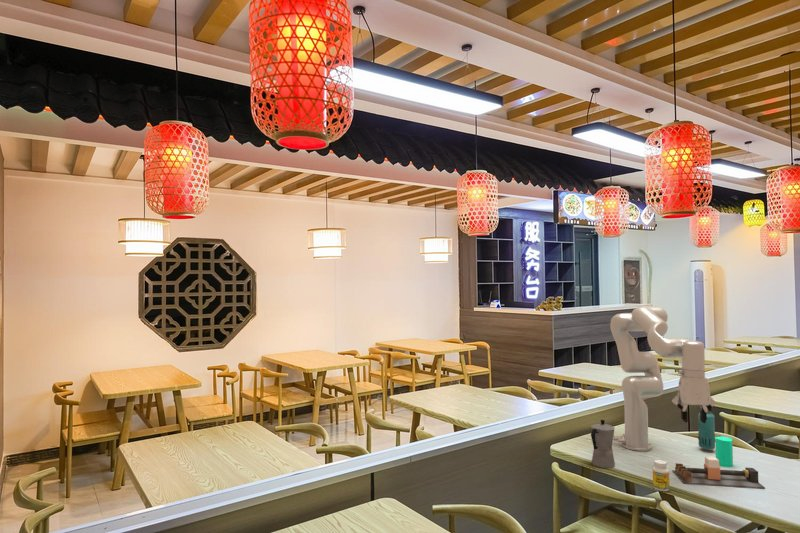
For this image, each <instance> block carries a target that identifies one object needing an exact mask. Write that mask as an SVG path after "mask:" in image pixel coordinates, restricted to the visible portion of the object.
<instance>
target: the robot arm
mask: <svg viewBox="0 0 800 533" xmlns="http://www.w3.org/2000/svg"><path fill="white" fill-rule="evenodd" d="M668 317H669V316H668V313H667V311H666V310H665V309H664V308H663V307H662V306H657V305H655V306H652V305H651V306H650V305H649V306H638V307H636V308H634V309H633V310H632V312H623V313H622V312H621V313H616V314H615V315H614V316H612V317H611V319H610V324H609V326H610V331H611V334H612V337H613V339H614V341H615V344H616V347H617V352H618V357H619V363H620V365H621V369H622V371H624V372H625V373H627V374H640V373H641V374H644V375H629V376H626V377H624V378H623V380H622V381H621V388H622V389H621V390H622V394H623V402H624V403H623V404H624V405H623V406H624V433H622V435H621V436H618V435H614V436H613V441H616V442H618V443H621V444H620V445H621V446H622V447H623V448H625V449H628V450H632V451H638V452H648V451H651V450H652V449H653V445H652V444H651V443H649V412H648V411H649V409H648V405H647V404H646V402H645V401H644V399H643V398H655V397H660V396H661V395H662V394H663V393H664V383H663V378H662V375H661V369H660V364H659V362H658V359H657V357H656V356H655V355H654V353H652V352H650V351H640V350H639V349H638V345H637V341H636V339H635V338H634V336H632V335H631V334H630V333H629V332H645V333H646V334H647V336H646V337H647V343H648V346H649V347H650V348H651V350H652V351H653V352H655V353H656V354H657V355H658V356H660V357H662V358H665V359H666V358H667V359H672V358H673V359H674V358H678V359H679V358H681V369H679V370H677V374H679V375H681V376H679V381H678V387H677V394H676V395H675V396H674V397H673V398H672V399H671V402H672V403H673V404H674V405H676V407H677V408H678V409H679V410H681V411H680V415H681V416H680V417H681V420H682V421H683V422H684V423H688V419H689V418H688V411H687V408H688V406H700V410H699V411H700V412H699V413H700V421H701V422H703V423H706V420H707V412H709V411H708V410H710V409H711V408H712V409H713V407H714V406H716V405H717V402H716V401H715V400H714V399H713V398H712V396H711V390H710V384H709V379H708V378H707V377H706V373H705V372H706V371H705V370H706V368H705V367H706V366H705V365H706V364H705V362H706V361H705V344H704V343H703V342H702V341H697V340H692V339H691V338H687V337H686V338H684V337H683V338H682V337H680V338H678V337H677V338H676V337H675V338H673V337H672V338H668V337H667V338H664V337H665V335H666V333H667V331H668V329H669V326H668V323H667V322H668V319H669V318H668ZM679 402H681V403H679ZM701 409H702V410H701Z"/></svg>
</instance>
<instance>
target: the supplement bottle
mask: <svg viewBox="0 0 800 533" xmlns="http://www.w3.org/2000/svg"><path fill="white" fill-rule="evenodd" d="M653 463H654V466H653V467H652V487H653V489H654V490H656V491H660V492H668V491H670V488H671V487H670V486H671V485H670V469H669V468H668V464H667V463H668V462H667V461H665V460H662V459H655V460H654V462H653Z"/></svg>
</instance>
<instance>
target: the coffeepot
mask: <svg viewBox="0 0 800 533" xmlns="http://www.w3.org/2000/svg"><path fill="white" fill-rule="evenodd" d="M605 422H606V421H605V419H600V423H595V424H591V425H590V429H591V433H590V437H591V442H592V446H593V451H592V459H591V464H592V465H593V466H595V467H598V468H601V469H612V468H614V467H615V464H616V462H615V457H614V456H615V455H614V450H613V443H614V442H613V441H614V436H615V428H616V427H614V426H612V424H605Z"/></svg>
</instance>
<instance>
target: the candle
mask: <svg viewBox="0 0 800 533" xmlns="http://www.w3.org/2000/svg"><path fill="white" fill-rule="evenodd" d="M733 450H734V449H733V438H731V437H729V436H715V458H717V459H718V460H719V467H725V468H732V467H734V466H733V465H734V462H733V461H734V460H733V459H734V458H733V457H734V456H733V454H734V452H733Z"/></svg>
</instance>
